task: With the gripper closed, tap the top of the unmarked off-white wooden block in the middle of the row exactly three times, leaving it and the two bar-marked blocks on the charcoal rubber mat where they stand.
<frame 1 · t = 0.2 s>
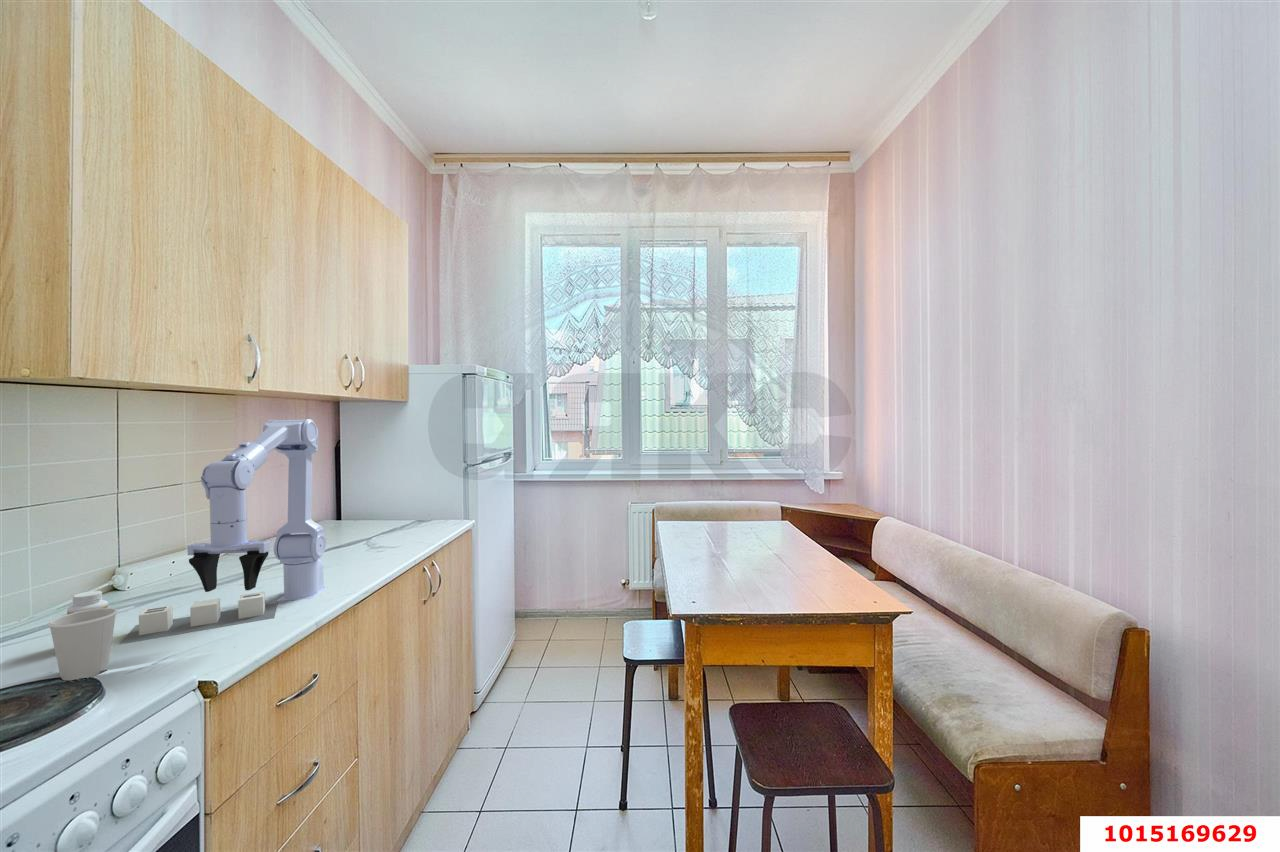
hand: (230, 589, 106), 10 cm above the counter, tool pointing down, fingers open, 7 cm apart
dixie cup: (85, 674, 93), on the counter
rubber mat: (206, 624, 115), on the counter
plain block: (206, 621, 115), point 1 cm above the counter, touching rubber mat
one bar block: (252, 613, 119), point 1 cm above the counter, touching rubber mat
two bar block: (156, 629, 111), point 1 cm above the counter, touching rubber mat
supplement bottle: (88, 646, 105), on the counter
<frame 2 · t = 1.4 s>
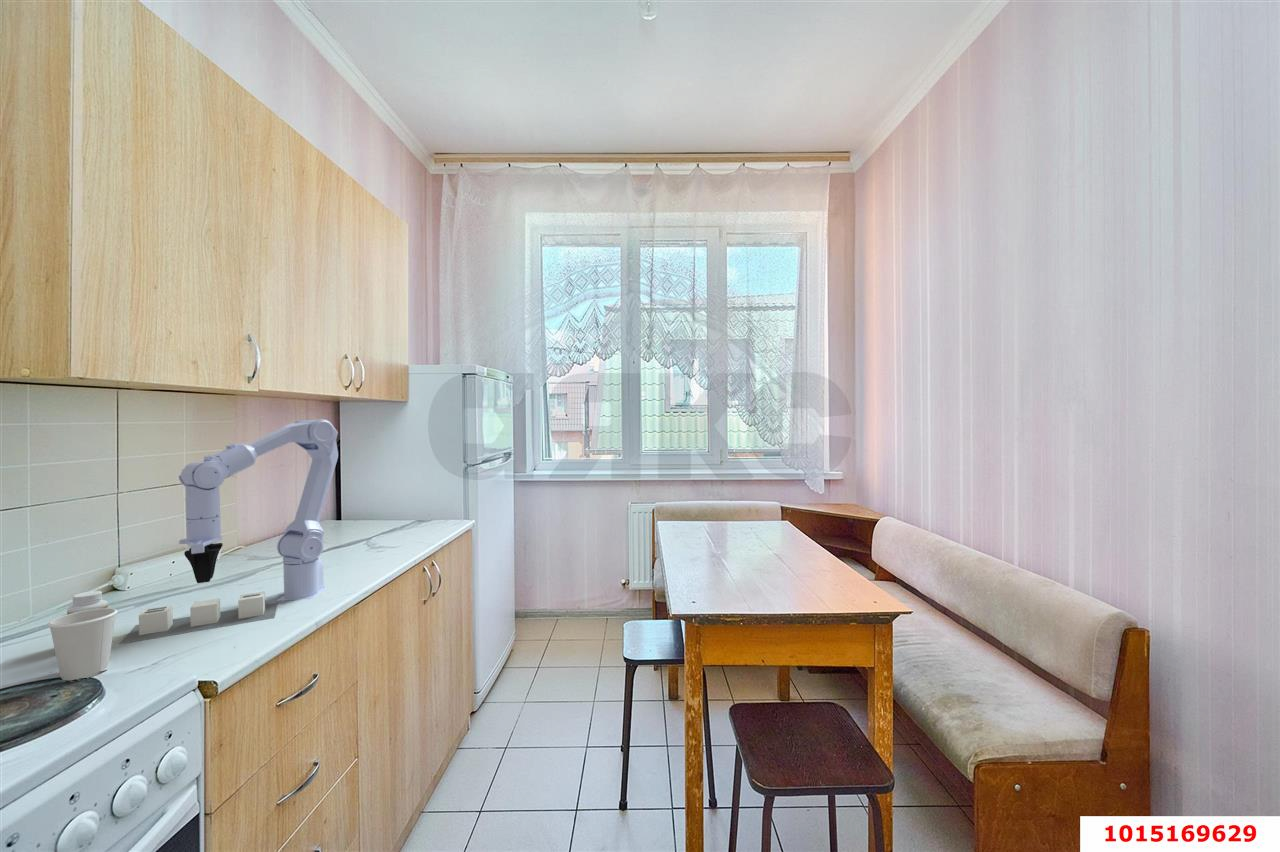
hand: (205, 580, 115), 9 cm above the counter, tool pointing down, fingers closed
nothing on the counter moved.
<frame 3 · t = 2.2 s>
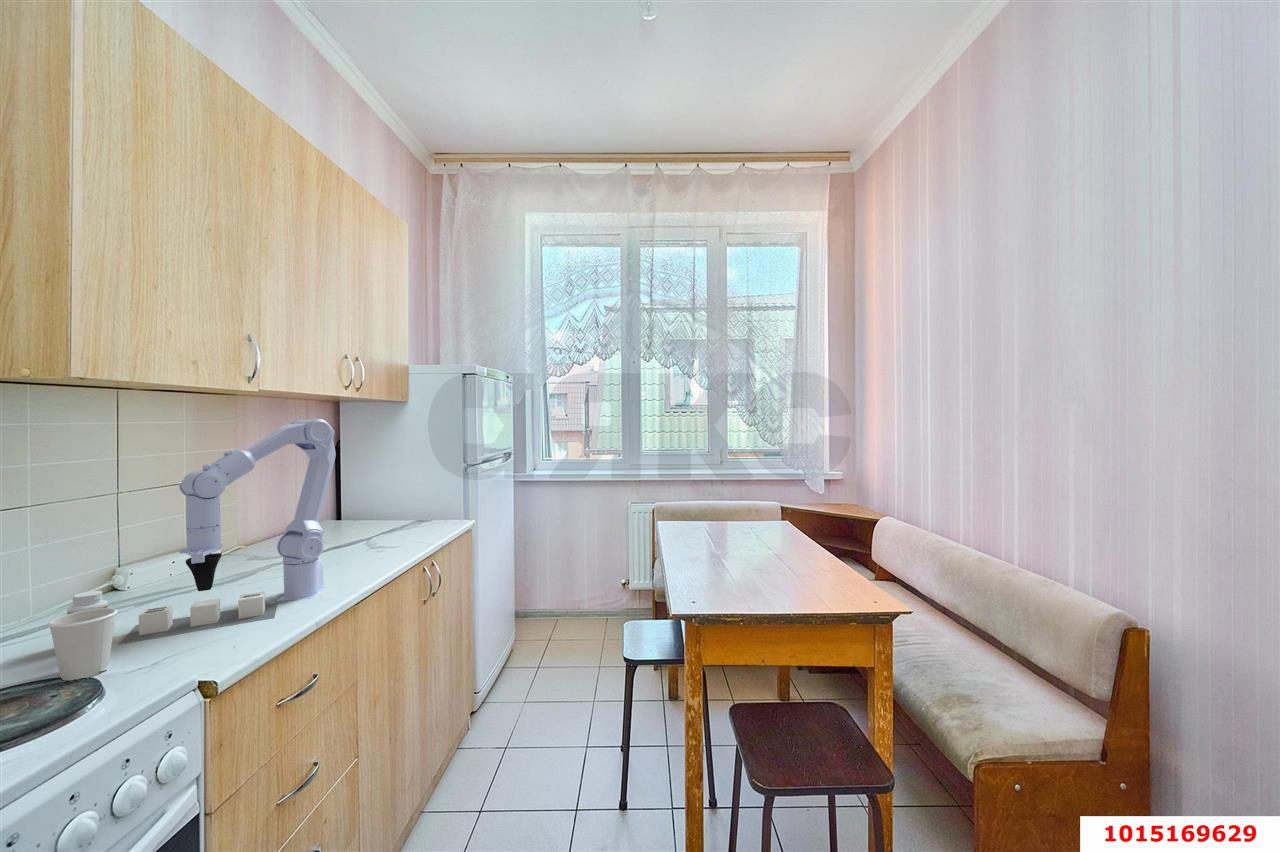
hand: (204, 589, 115), 7 cm above the counter, tool pointing down, fingers closed
nothing on the counter moved.
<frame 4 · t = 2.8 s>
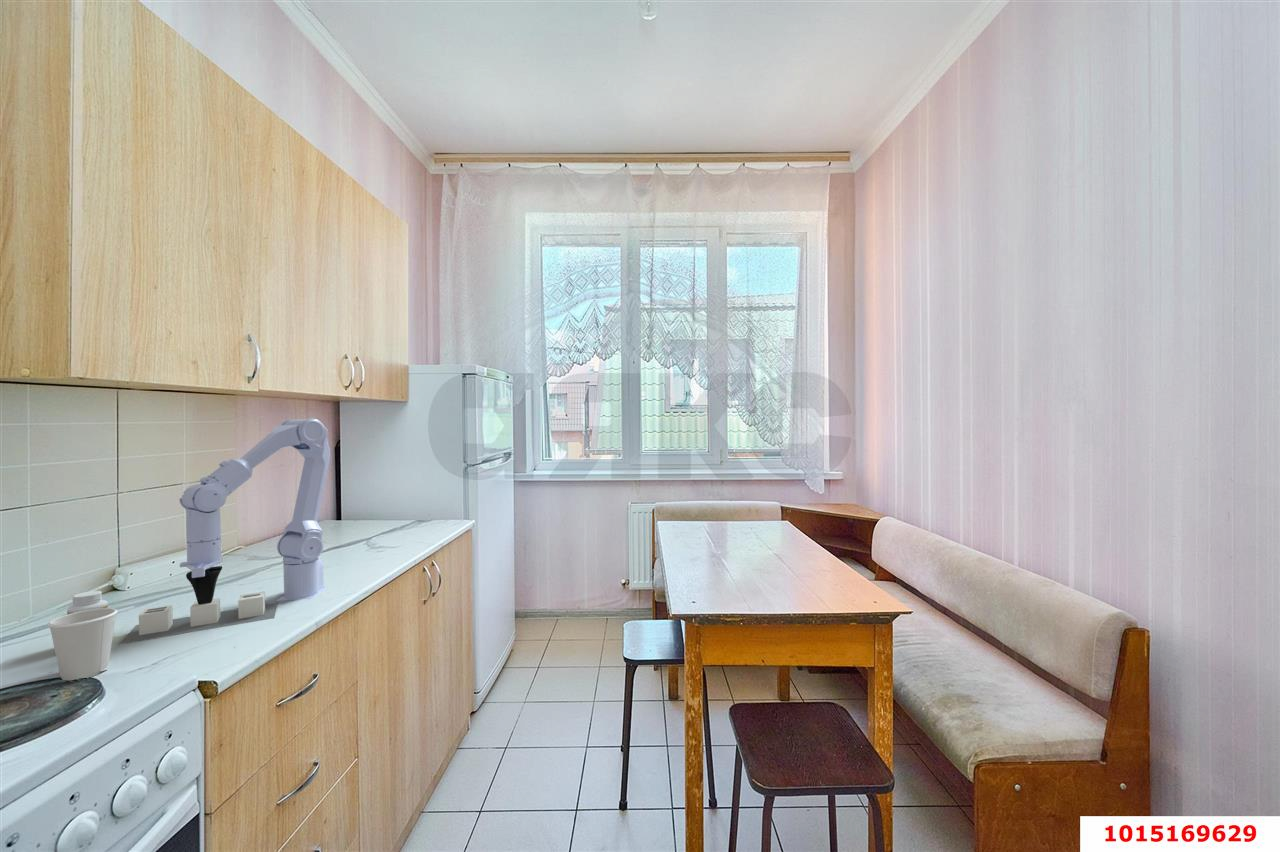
hand: (205, 603, 115), 5 cm above the counter, tool pointing down, fingers closed, pressing on plain block
plain block: (206, 621, 115), point 1 cm above the counter, touching gripper, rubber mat
everything else where it was.
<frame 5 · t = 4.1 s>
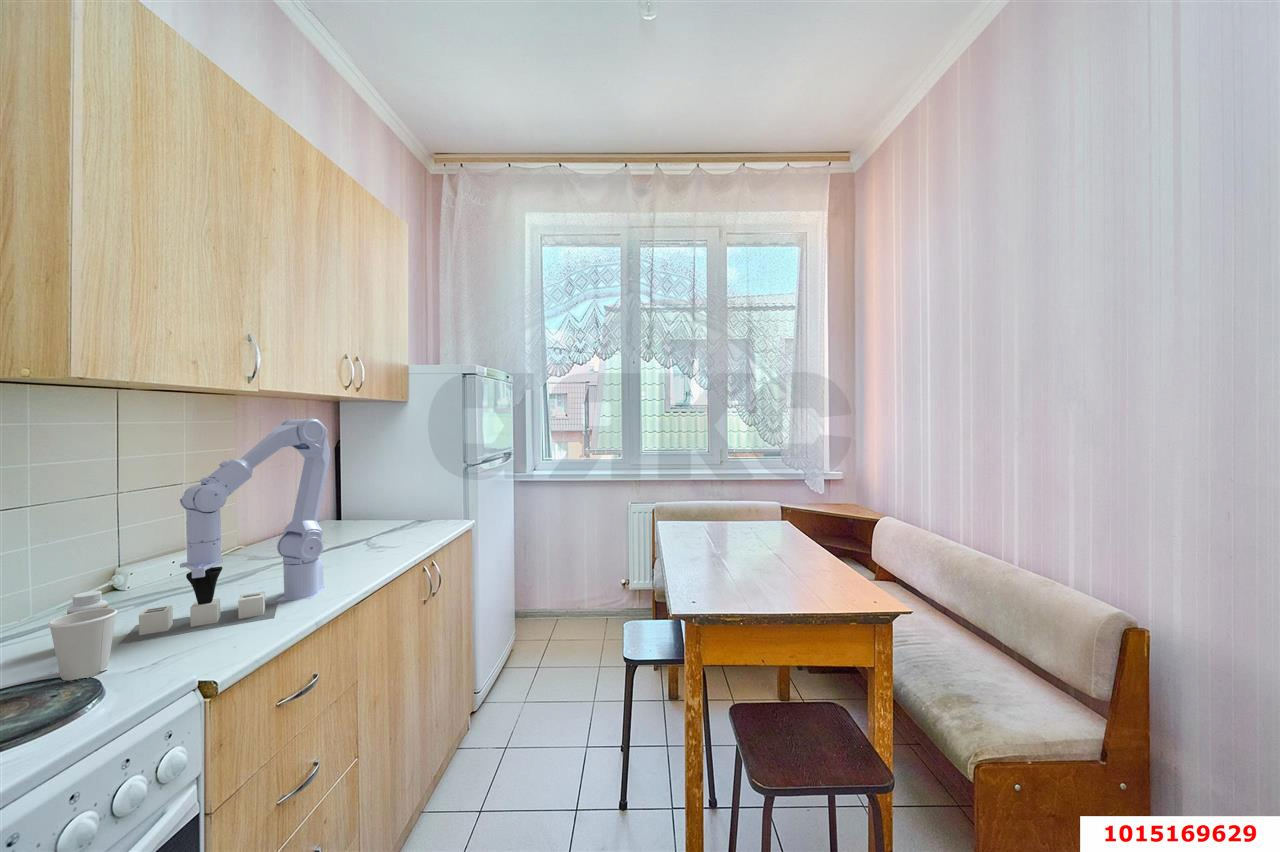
hand: (205, 603, 115), 4 cm above the counter, tool pointing down, fingers closed, pressing on plain block
plain block: (206, 621, 115), point 1 cm above the counter, touching gripper, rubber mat
everything else where it was.
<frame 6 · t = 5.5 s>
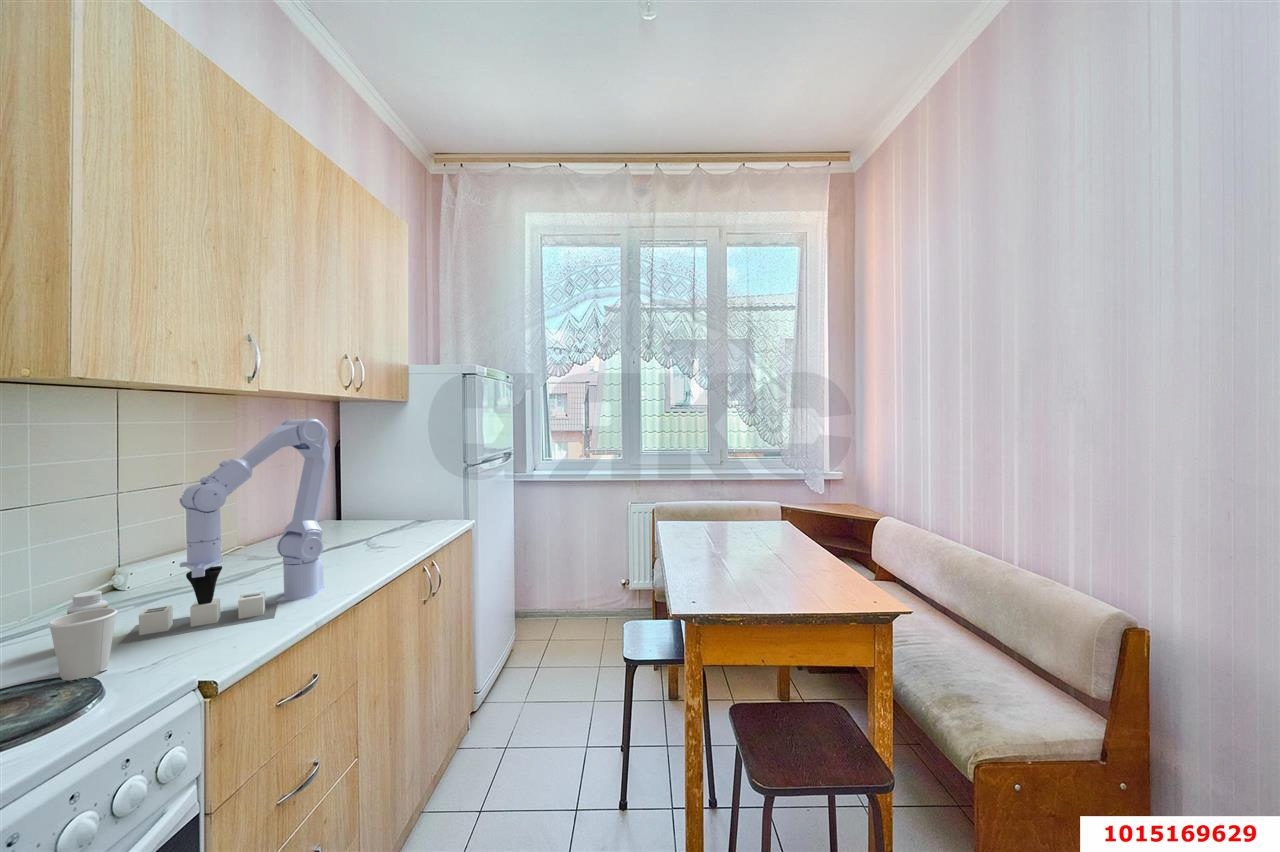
hand: (205, 603, 115), 5 cm above the counter, tool pointing down, fingers closed, pressing on plain block
plain block: (206, 621, 115), point 1 cm above the counter, touching gripper, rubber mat
everything else where it was.
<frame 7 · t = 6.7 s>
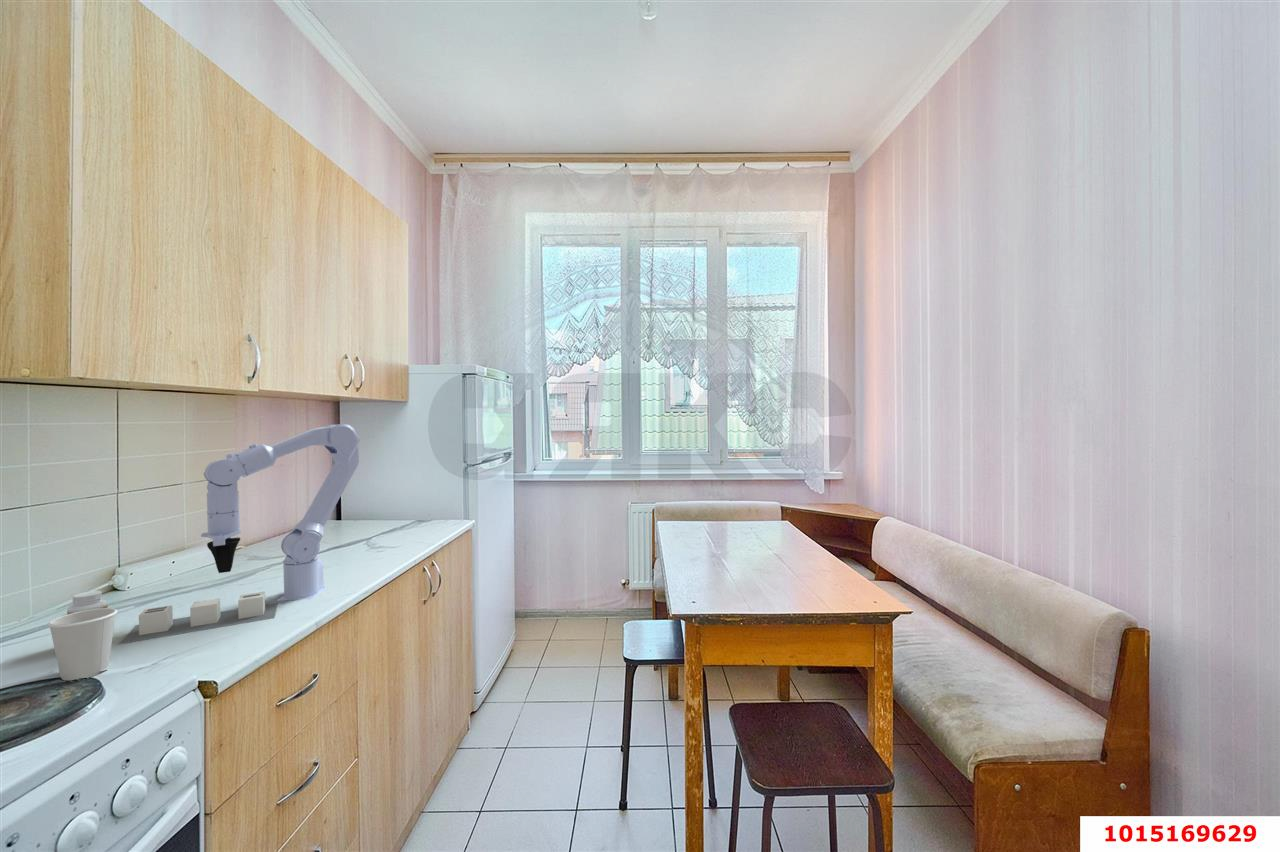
hand: (224, 571, 122), 9 cm above the counter, tool pointing down, fingers closed
plain block: (206, 621, 115), point 1 cm above the counter, touching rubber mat
everything else where it was.
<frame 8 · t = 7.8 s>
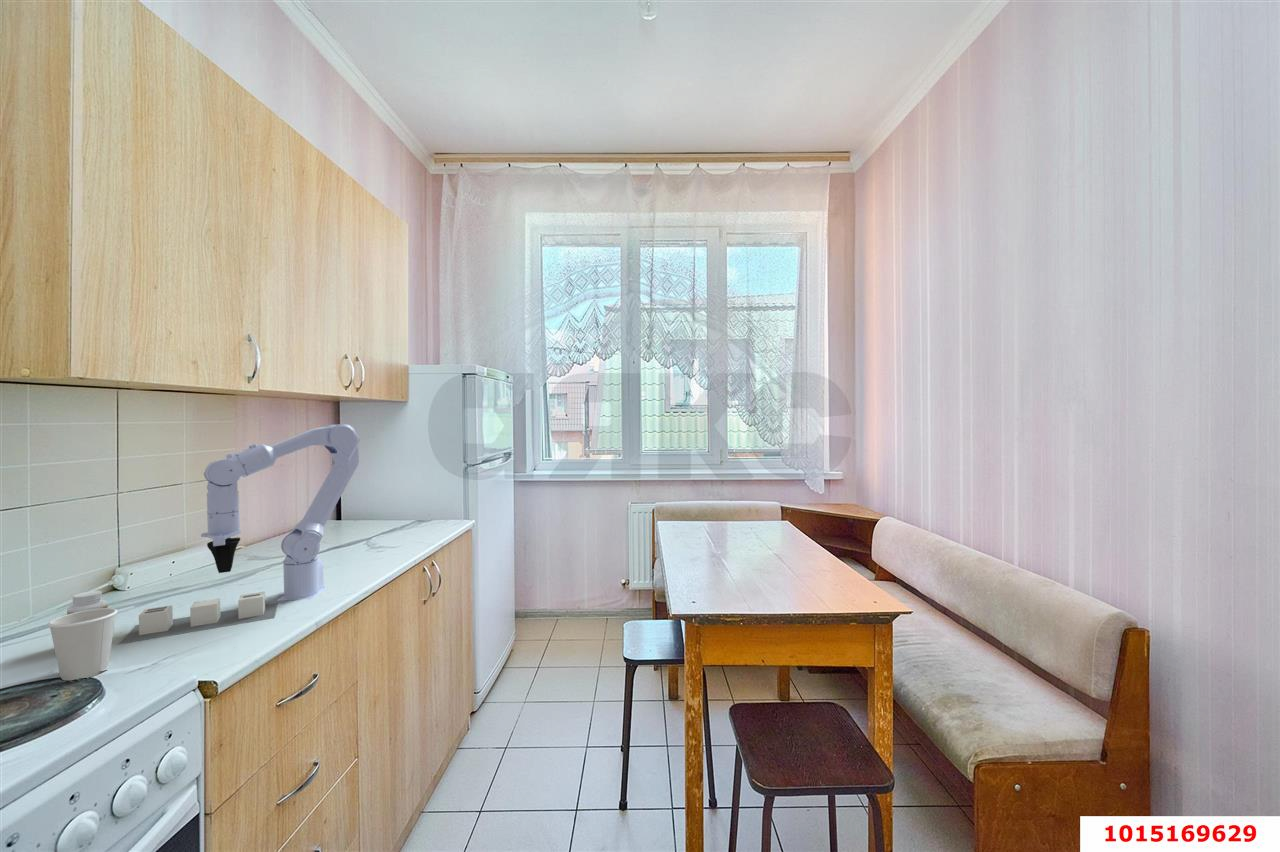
hand: (224, 571, 122), 9 cm above the counter, tool pointing down, fingers closed
nothing on the counter moved.
at the end: plain block moved 0.0 cm from its start; plain block tilted 0°; one bar block moved 0.0 cm from its start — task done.
